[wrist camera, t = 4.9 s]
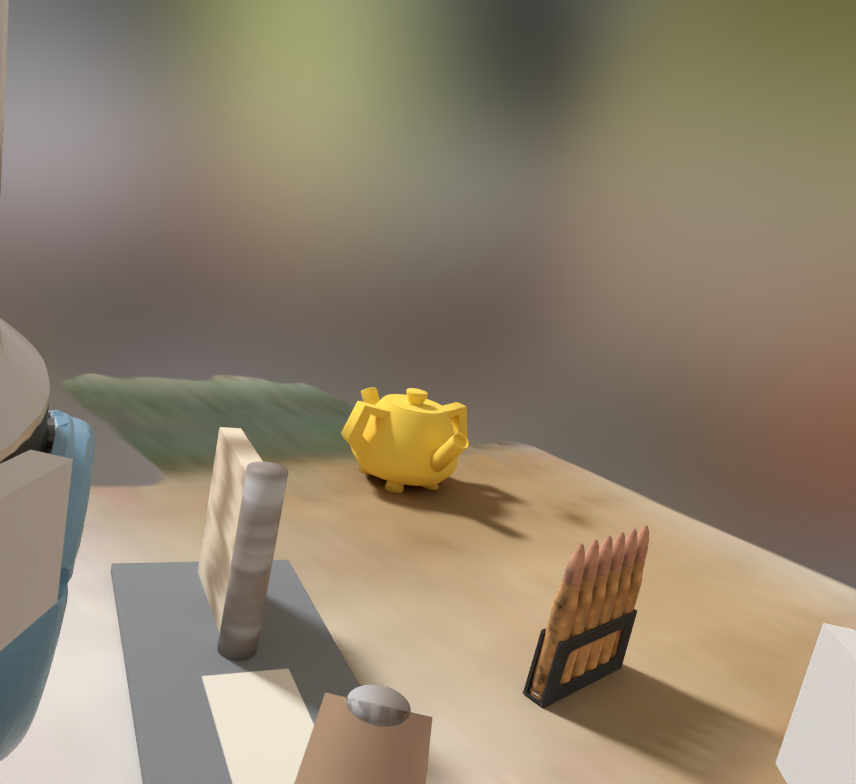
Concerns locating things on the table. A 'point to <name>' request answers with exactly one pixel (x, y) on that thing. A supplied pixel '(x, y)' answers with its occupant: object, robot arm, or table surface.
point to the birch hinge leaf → (240, 541)
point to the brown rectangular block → (367, 740)
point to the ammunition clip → (589, 618)
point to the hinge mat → (222, 678)
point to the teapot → (406, 438)
